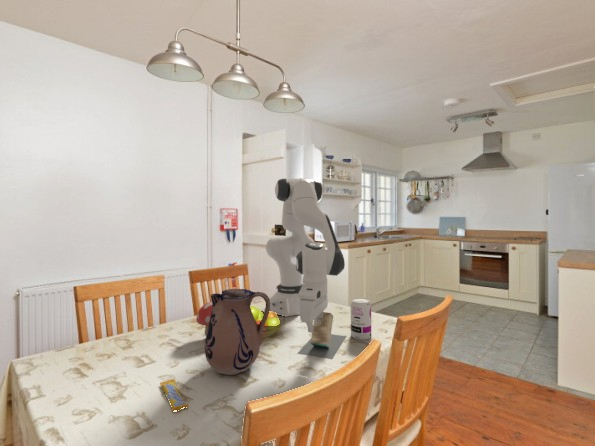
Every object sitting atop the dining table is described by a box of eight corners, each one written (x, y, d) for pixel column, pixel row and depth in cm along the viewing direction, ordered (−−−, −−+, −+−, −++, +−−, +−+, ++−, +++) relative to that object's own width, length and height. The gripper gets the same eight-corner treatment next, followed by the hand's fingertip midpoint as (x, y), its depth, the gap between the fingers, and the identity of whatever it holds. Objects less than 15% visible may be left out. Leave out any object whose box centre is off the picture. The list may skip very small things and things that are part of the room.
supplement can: (369, 333, 134) (369, 298, 134) (372, 341, 126) (372, 303, 126) (350, 333, 135) (350, 297, 135) (351, 340, 127) (351, 303, 126)
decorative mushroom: (204, 348, 121) (204, 308, 121) (191, 337, 132) (190, 301, 131) (236, 339, 130) (235, 302, 129) (221, 330, 140) (220, 296, 140)
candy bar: (189, 411, 83) (189, 404, 83) (172, 417, 81) (172, 409, 81) (174, 383, 97) (174, 377, 97) (160, 387, 95) (159, 381, 95)
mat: (297, 354, 115) (297, 353, 115) (316, 332, 136) (316, 332, 136) (332, 359, 110) (332, 359, 110) (346, 337, 131) (346, 336, 131)
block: (310, 343, 118) (315, 311, 123) (313, 345, 121) (318, 314, 127) (326, 345, 116) (330, 312, 121) (329, 348, 119) (333, 315, 125)
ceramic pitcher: (203, 361, 110) (201, 289, 109) (262, 351, 117) (261, 284, 117) (207, 387, 94) (206, 302, 93) (276, 373, 101) (275, 295, 100)
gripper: (315, 282, 125) (316, 317, 125) (296, 294, 106) (296, 336, 106) (331, 283, 122) (331, 319, 123) (314, 296, 103) (314, 338, 104)
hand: (315, 327), depth 114 cm, fingers open, 8 cm apart
